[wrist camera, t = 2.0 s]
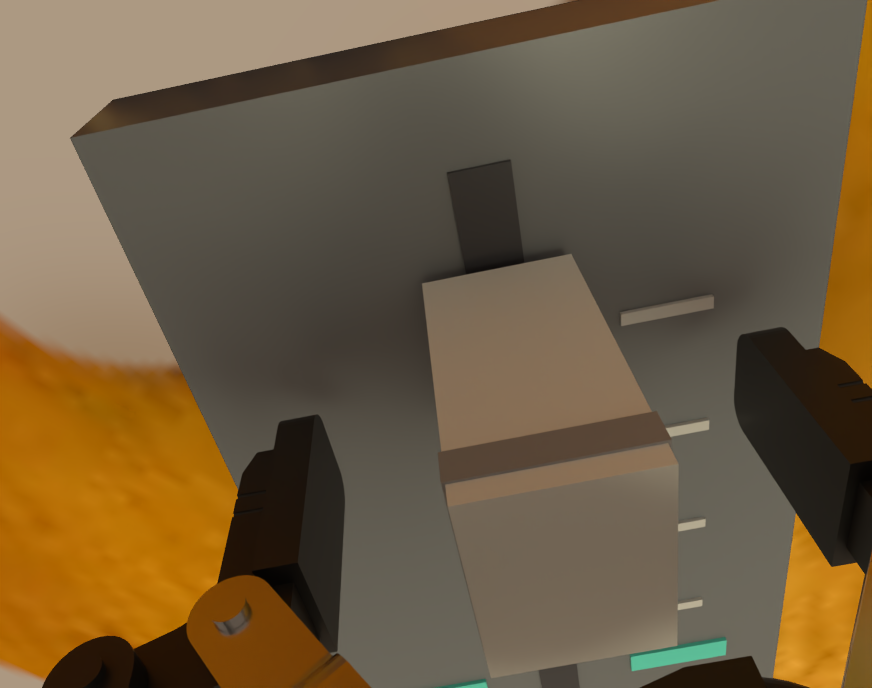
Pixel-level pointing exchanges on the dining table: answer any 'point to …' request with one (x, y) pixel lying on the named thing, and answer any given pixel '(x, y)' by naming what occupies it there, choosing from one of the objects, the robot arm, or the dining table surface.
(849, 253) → the dining table surface
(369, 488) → the console
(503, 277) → the fader tab
